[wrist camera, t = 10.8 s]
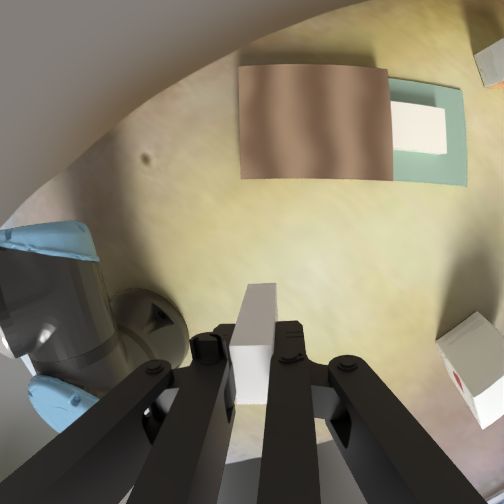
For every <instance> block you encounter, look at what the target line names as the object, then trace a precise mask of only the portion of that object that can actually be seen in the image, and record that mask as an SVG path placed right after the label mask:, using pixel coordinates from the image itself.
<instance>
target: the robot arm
mask: <svg viewBox="0 0 504 504" xmlns="http://www.w3.org/2000/svg"><path fill="white" fill-rule="evenodd" d="M99 261H100V258H99V257H98V256H97V253H96V250H95V246H94V243H93V239H92V236H91V232H90V230H89V228H88V227H87V226H86V225H85V224H84V223H82V222H80V221H60V222H51V223H42V224H35V225H28V226H21V227H16V228H10V229H5V230H0V353H1V354H3V355H5V356H7V357H9V358H11V359H16V358H18V357H21V356H23V355H26V354H28V355H29V357H30V360H31V362H32V364H33V367H34V369H35V371H36V374H37V375H35V376H34V377H32V378H31V380H30V383H29V385H28V395H29V398H30V401H31V403H32V405H33V406H34V408H35V409H36V411H37V412H38V413H39V415H40V416H41V417H42V418H43V419H44V420H45V421H46V422H47V423H48V424H49V425H50V426H51V427H52V428H53V429H55V430H56V431H57V432H58V433H60V434H59V435H57V436H56V437H55V438H54V439H53V440H52V441H50V442H49V443H48V444H47V445H46V446H44V447H43V448H42V449H41V450H40V451H38V452H37V453H36V454H35V455H34V456H32V457H31V458H30V459H29V460H28V461H26V462H25V463H24V464H23V465H22V466H21V467H19V468H18V469H17V470H15V471H14V472H13V473H12V474H11V475H9V476H8V477H7V478H6V479H5V480H3V481H2V482H1V483H0V504H118V503H119V502H120V501H121V500H122V499H123V498H124V497H125V495H126V494H127V493H128V492H129V490H130V489H131V488H132V487H133V486H134V487H133V489H132V492H131V494H130V496H129V498H128V500H127V502H126V504H217V499H218V494H219V490H220V485H221V480H222V476H223V471H224V466H225V461H226V456H227V452H228V447H229V442H230V437H231V432H232V427H233V422H234V418H235V413H236V412H235V405H234V401H235V396H236V400H237V404H267V407H266V418H265V429H264V439H263V449H262V459H261V470H260V479H259V488H258V497H257V504H321V499H320V484H319V469H318V456H317V444H316V432H315V421H314V418H321V419H325V423H326V425H327V427H328V429H329V431H330V433H331V435H332V437H333V439H334V441H335V443H336V445H337V446H338V448H339V450H340V452H341V454H342V456H343V458H344V460H345V462H346V464H347V465H348V467H349V469H350V471H351V473H352V475H353V477H354V479H355V481H356V483H357V484H358V486H359V488H360V490H361V492H362V494H363V496H364V498H365V500H366V501H367V503H368V504H488V503H487V502H486V501H485V500H484V499H483V497H482V496H481V495H480V494H479V493H478V491H477V490H476V489H475V488H474V487H473V486H472V484H471V483H470V482H469V481H468V480H467V478H466V477H465V476H464V475H463V474H462V473H461V471H460V470H459V469H458V468H457V467H456V465H455V464H454V463H453V462H452V461H451V460H450V458H449V457H448V456H447V455H446V454H445V453H444V451H443V450H442V449H441V448H440V447H439V446H438V444H437V443H436V442H435V441H434V440H433V439H432V437H431V436H430V435H429V434H428V433H427V432H426V430H425V429H424V428H423V427H422V426H421V425H420V424H419V422H418V421H417V420H416V419H415V418H414V417H413V415H412V414H411V413H410V412H409V411H408V410H407V409H406V407H405V406H404V405H403V404H402V403H401V402H400V401H399V399H398V398H397V397H396V396H395V395H394V394H393V392H392V391H391V390H390V389H389V388H388V387H387V386H386V384H385V383H384V382H383V381H382V380H381V379H380V378H379V376H378V375H377V374H376V373H375V372H374V371H373V370H372V369H371V367H370V366H369V365H368V364H367V363H366V362H365V361H364V360H363V359H362V358H360V357H357V356H354V355H342V356H338V357H335V358H333V359H332V360H331V361H330V362H329V364H328V365H322V364H317V363H315V362H312V361H311V360H309V359H308V357H307V355H306V350H305V341H304V333H303V325H302V324H301V323H299V322H298V321H278V308H277V291H276V283H263V284H248V286H247V290H246V293H245V296H244V299H243V303H242V306H241V309H240V312H239V316H238V319H237V322H236V324H220V325H218V326H217V327H216V328H215V329H214V330H213V332H205V333H201V334H197V335H195V336H193V337H192V338H191V339H190V340H189V334H188V330H187V327H186V325H185V322H184V320H183V318H182V317H181V315H180V314H179V312H178V311H177V310H176V309H175V308H174V306H173V305H171V304H170V303H169V302H168V301H167V300H166V299H164V298H163V297H161V296H159V295H158V294H156V293H153V292H151V291H148V290H144V289H128V290H124V291H122V292H120V293H118V294H117V295H116V296H114V297H113V298H112V299H110V300H109V298H108V295H107V291H106V288H105V284H104V281H103V277H102V273H101V269H100V264H99ZM189 342H190V348H191V353H192V358H193V360H192V362H191V364H190V366H188V367H183V368H179V367H180V365H181V364H182V362H183V360H184V359H185V357H186V355H187V352H188V349H189ZM147 408H149V411H150V412H149V413H148V414H146V415H144V412H145V410H146V409H147Z"/></svg>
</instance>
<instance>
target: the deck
mask: <svg viewBox="0 0 504 504" xmlns="http://www.w3.org/2000/svg"><path fill="white" fill-rule="evenodd" d="M238 77H239V123H240V164H241V179H273V178H317V179H359V180H383V181H393V135H392V116H391V102H390V90H389V80H388V71H387V69H381V68H371V67H360V66H346V65H326V64H273V65H252V66H238Z"/></svg>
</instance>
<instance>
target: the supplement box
mask: <svg viewBox="0 0 504 504" xmlns="http://www.w3.org/2000/svg"><path fill="white" fill-rule="evenodd" d="M436 345H437V347H438V349H439V352H440V354H441V357H442V359H443V361H444V364H445V366H446V369H447V371H448V374H449V375H450V377H451V378H452V380H453V381H454V383H455V385H456V386H457V388H458V389H459V391H460V393H461V394H462V396H463V398H464V399H465V401H466V402H467V404H468V406H469V407H470V409H471V411H472V412H473V414H474V416H475V417H476V419H477V421H478V423H479V424H480V426H481V428H482V429H484V428H486V427H487V426H489V425H490V424H492V423H493V422H494V421H496V420H497V419H498V418H500V417H501V416H502V415H504V335H502V334H501V333H500V332H499V331H498V330H497V329H496V328H495V327H494V326H493V325H492V324H491V323H490V322H489V321H488V320H487V319H485V318H484V317H483V316H482V315H481V314H480V313H479V312H478V311H476V312H475V313H473V314H472V315H471V316H470V317H468V318H467V319H466V320H464V321H463V322H462V323H460V324H459V325H458V326H456V327H455V328H453V329H452V330H451V331H449V332H448V333H446V334H445V335H444V336H442V337H441V338H439V339H438V340H436Z"/></svg>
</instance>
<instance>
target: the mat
mask: <svg viewBox="0 0 504 504" xmlns="http://www.w3.org/2000/svg"><path fill="white" fill-rule="evenodd" d="M388 80H389V90H390V101H395V102H403V103H411V104H418V105H425V106H431V107H437V108H443V109H445V121H446V140H447V154H440V155H438V154H430V153H421V152H411V151H401V150H393V181H405V182H420V183H433V184H445V185H456V186H466V187H467V141H466V124H465V112H464V102H463V93H462V91H461V90H457V89H452V88H447V87H442V86H437V85H431V84H426V83H420V82H413V81H406V80H399V79H391V78H388Z"/></svg>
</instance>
